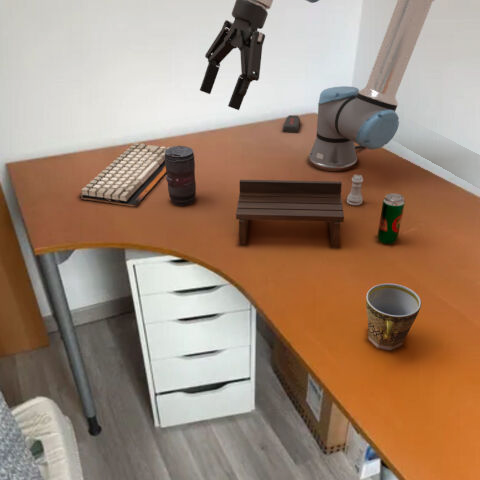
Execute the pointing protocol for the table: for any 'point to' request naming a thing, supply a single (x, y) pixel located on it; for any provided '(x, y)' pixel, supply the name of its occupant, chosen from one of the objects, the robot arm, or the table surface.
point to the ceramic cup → (390, 314)
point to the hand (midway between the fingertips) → (218, 100)
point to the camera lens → (180, 174)
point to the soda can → (390, 218)
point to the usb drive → (291, 124)
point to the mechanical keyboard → (128, 176)
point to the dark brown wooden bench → (290, 203)
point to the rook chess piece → (355, 191)
